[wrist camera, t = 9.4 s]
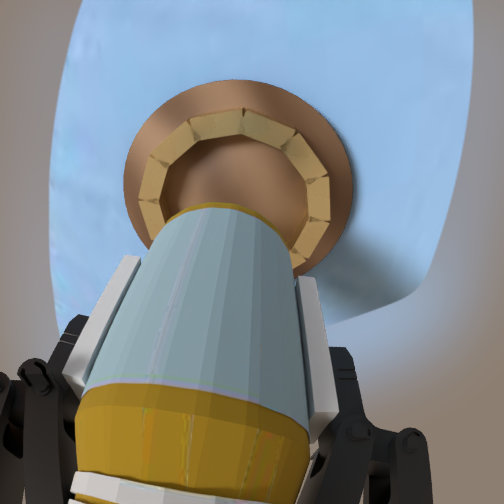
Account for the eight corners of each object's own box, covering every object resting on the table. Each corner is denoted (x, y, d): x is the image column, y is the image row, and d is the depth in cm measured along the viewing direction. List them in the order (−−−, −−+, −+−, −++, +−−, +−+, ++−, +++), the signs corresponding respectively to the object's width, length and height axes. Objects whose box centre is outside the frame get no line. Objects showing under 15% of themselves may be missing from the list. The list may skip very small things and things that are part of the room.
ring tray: (255, 31, 16) (255, 26, 14) (385, 216, 23) (396, 232, 21) (90, 182, 22) (75, 195, 20) (224, 311, 29) (221, 330, 27)
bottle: (298, 297, 17) (320, 586, 5) (183, 314, 18) (132, 567, 6) (275, 182, 14) (300, 641, 1) (136, 214, 15) (-16, 528, 2)
